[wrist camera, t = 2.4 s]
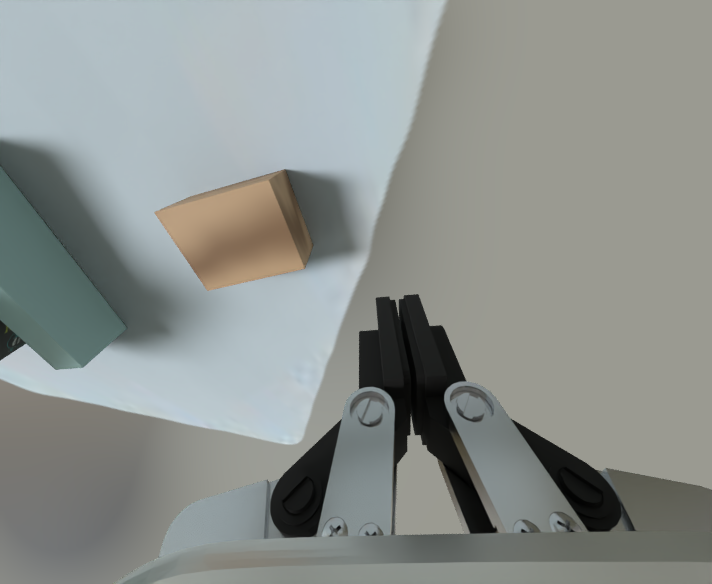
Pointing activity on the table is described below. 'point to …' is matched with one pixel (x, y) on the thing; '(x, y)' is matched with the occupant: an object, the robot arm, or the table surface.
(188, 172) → the table surface
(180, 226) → the block
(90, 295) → the board
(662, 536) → the robot arm
